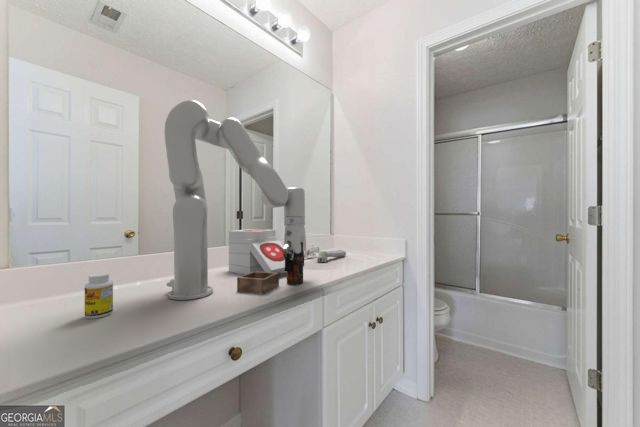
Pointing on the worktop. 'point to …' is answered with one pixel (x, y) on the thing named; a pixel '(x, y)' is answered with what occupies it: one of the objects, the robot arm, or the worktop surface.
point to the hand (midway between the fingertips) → (294, 268)
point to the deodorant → (296, 269)
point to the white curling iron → (329, 255)
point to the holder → (257, 282)
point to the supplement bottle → (98, 296)
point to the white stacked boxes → (255, 251)
